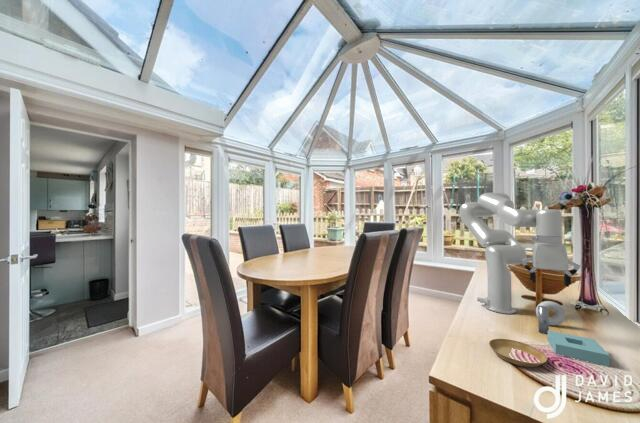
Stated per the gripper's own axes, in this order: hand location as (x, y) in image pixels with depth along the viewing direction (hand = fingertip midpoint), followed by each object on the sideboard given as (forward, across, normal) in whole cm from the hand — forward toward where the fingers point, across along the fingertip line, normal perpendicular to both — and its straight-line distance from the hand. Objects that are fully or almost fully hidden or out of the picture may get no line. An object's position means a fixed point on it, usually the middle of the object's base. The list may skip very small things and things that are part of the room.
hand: (549, 283), depth 98 cm
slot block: (+19, +4, -14) cm, 24 cm away
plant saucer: (+20, -13, -29) cm, 38 cm away
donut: (+19, +2, +10) cm, 22 cm away
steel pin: (+19, -2, -1) cm, 19 cm away
